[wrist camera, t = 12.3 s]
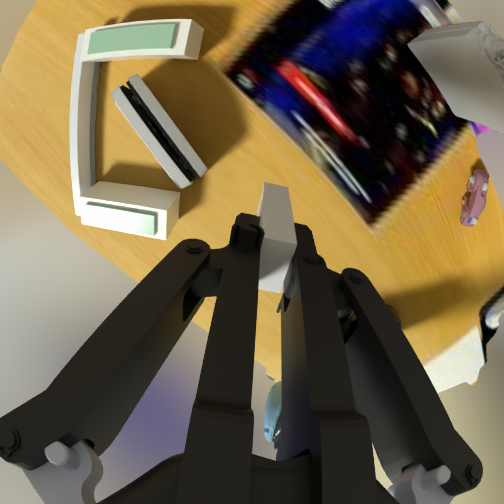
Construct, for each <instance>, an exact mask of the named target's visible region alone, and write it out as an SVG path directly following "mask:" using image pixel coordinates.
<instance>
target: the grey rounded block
mask: <svg viewBox="0 0 504 504" xmlns="http://www.w3.org/2000/svg"><path fill="white" fill-rule="evenodd" d="M128 80H129V81H127V82H126V83H127V85H128V86H129V88H130V89H131V91H132V92H133V93H132V92H131V91H130V89H128V88H127V87H125V86H124V85H122V86H121V87H120V86H118V87H117V88H116V89H115V90H114V91H113V92H112V96H113V98H114V99H115V102H114V103H115V104H116V105H117V107H118V108H119V110H120V111H121V112H122V114H123V115H124V116H125V118H126V119H127V120H128V122H129V123H130V125H131V126H132V127H133V129H134V130H135V131H136V133H137V134H138V135H139V137H140V138H141V139H142V141H143V142H144V143H145V145H146V146H147V147H148V149H149V150H150V151H151V153H152V154H153V155H154V157H155V158H156V159H157V161H158V162H159V163H160V165H161V166H162V167H163V169H164V170H165V171H166V173H167V174H168V175H169V176H170V178H171V179H172V180H173V182H174V183H175V184H176V186H177V187H178V188H179V189H181V188H182V189H183V188H185V187H187V186H189V185H191V184H192V183H193V182H194V181H193V180H194V179H195V177H198V176H200V177H202V176H203V174H204V173H205V172H206V171H207V170H208V169H207V168H206V166H205V165H204V163H203V162H202V161H201V159H200V158H199V157H198V155H197V154H196V152H195V151H194V150H193V148H192V147H191V146H190V144H189V143H188V141H187V140H186V139H185V137H184V136H183V135H182V133H181V132H180V130H179V129H178V128H177V126H176V125H175V124H174V122H173V121H172V120H171V118H170V117H169V116H168V114H167V113H166V111H165V110H164V109H163V107H162V106H161V105H160V103H159V102H158V101H157V99H156V98H155V97H154V95H153V94H152V93H151V91H150V90H149V89H148V87H147V86H146V85H145V83H144V82H143V81H142V79H141V78H140V77H139V75H138V74H136V75H134V76H132V77H130V78H128ZM133 94H134V95H133ZM153 121H154V122H155V124H156V125H157V127H158V128H159V129H160V131H161V132H162V133H163V135H164V136H165V137H166V139H167V140H168V141H169V143H170V144H166V143H165V142H164V140H163V139H162V138H161V136H160V135H159V134H158V132H157V131H156V130H155V128H154V127H153V126H152V122H153ZM188 168H189V169H190V170H191V171H192V173H193V174H194V175H195V177H194V176H193V174H192V173H191V172H190V170H189V169H188ZM186 169H187V170H186Z"/></svg>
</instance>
